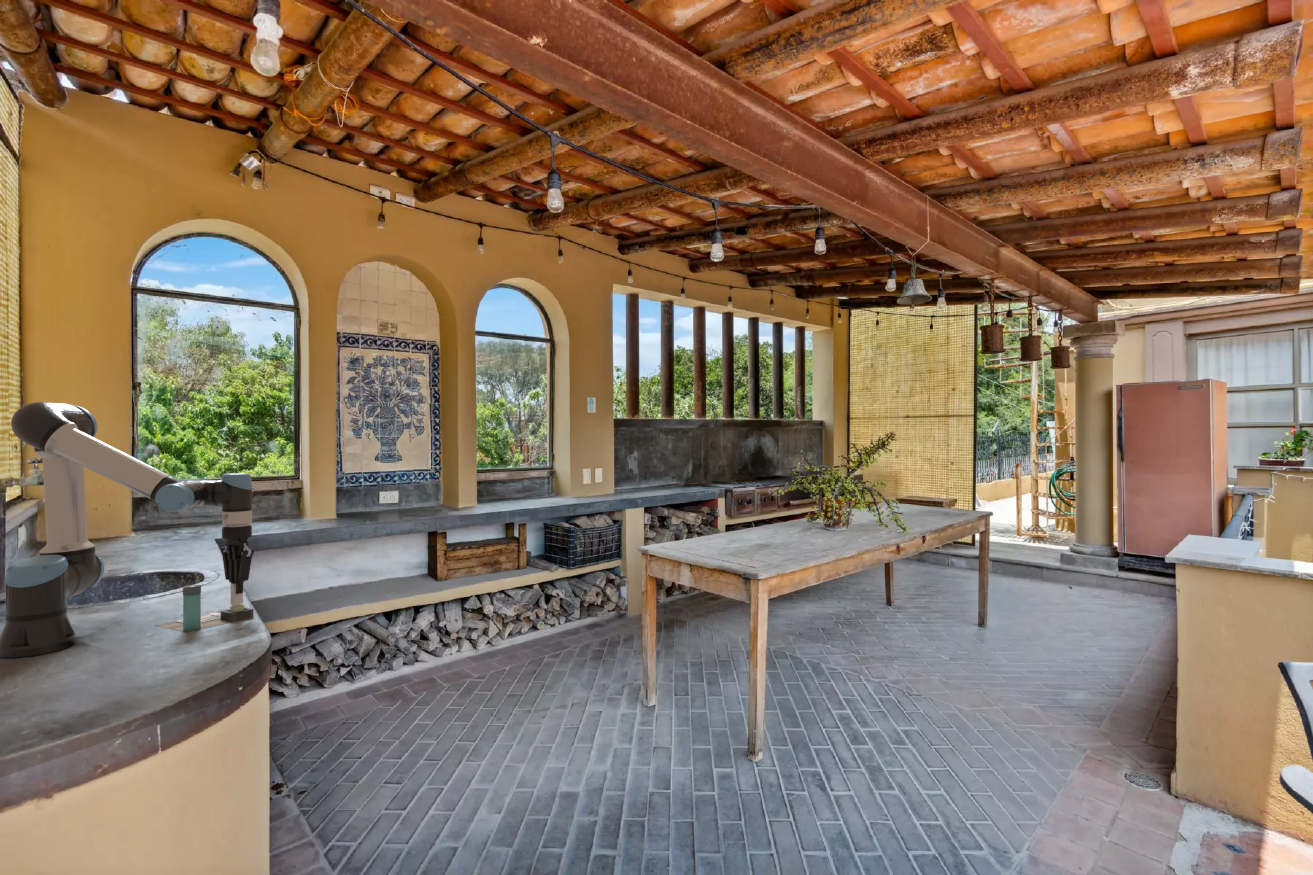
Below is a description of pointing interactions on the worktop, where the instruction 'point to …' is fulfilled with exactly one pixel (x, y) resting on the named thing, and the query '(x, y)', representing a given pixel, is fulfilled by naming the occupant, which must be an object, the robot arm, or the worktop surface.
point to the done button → (236, 608)
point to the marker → (191, 607)
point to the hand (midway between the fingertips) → (236, 604)
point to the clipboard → (213, 619)
